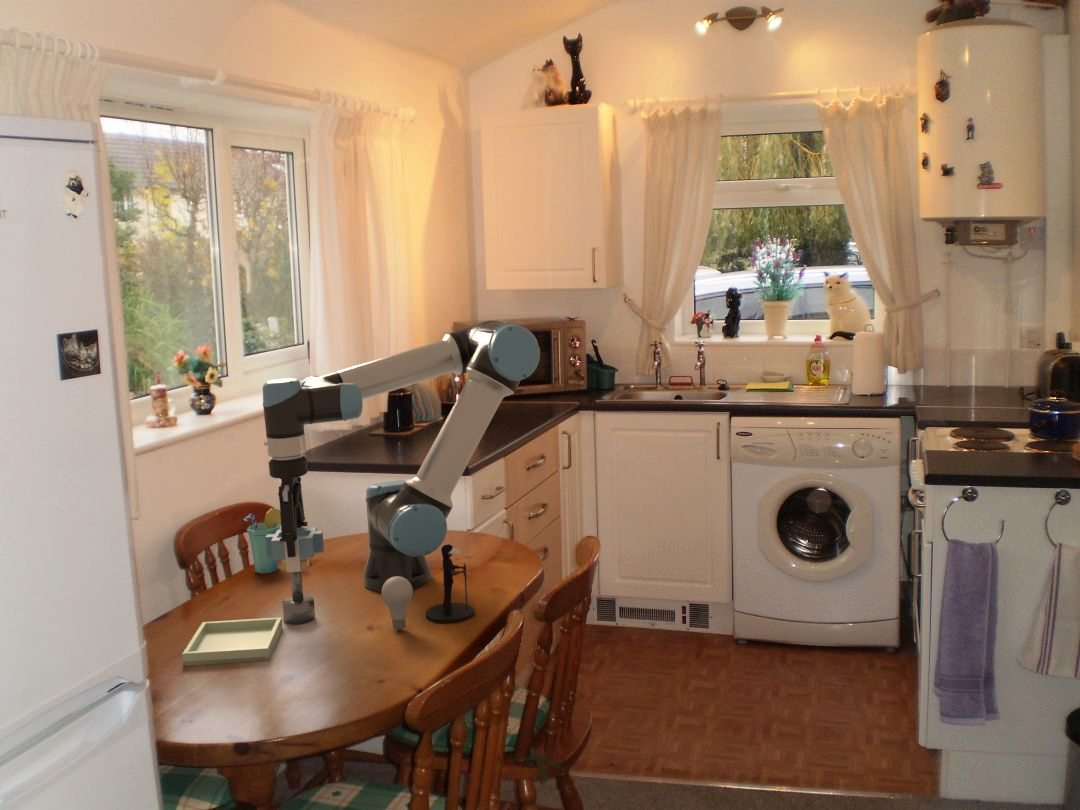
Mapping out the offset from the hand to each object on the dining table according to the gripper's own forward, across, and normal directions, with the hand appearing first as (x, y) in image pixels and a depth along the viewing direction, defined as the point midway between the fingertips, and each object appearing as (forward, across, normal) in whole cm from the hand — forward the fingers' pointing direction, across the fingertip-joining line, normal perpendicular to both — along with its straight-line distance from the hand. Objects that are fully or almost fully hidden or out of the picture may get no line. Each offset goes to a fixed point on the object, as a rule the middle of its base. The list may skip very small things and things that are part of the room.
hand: (296, 564), depth 225 cm
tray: (+11, +14, -11) cm, 21 cm away
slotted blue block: (-3, 0, 0) cm, 3 cm away
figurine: (+12, +3, +31) cm, 33 cm away
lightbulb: (+12, +10, +21) cm, 26 cm away
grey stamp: (+12, 0, 0) cm, 12 cm away
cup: (+12, -35, -13) cm, 39 cm away
